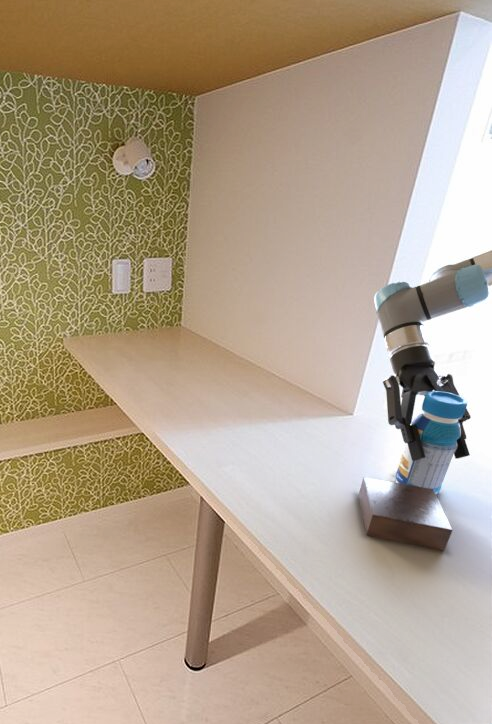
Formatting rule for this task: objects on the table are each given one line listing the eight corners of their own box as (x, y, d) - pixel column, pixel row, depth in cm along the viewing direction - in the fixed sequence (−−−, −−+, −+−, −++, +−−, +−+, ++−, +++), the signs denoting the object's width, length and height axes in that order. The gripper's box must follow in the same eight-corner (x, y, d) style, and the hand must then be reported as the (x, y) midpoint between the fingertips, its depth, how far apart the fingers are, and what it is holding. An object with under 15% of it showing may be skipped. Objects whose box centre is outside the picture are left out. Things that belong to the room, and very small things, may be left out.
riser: (426, 508, 83) (433, 489, 81) (444, 551, 73) (452, 530, 71) (358, 495, 87) (363, 477, 85) (366, 535, 76) (372, 514, 74)
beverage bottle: (422, 501, 85) (455, 409, 77) (384, 479, 92) (411, 392, 83) (449, 491, 88) (484, 402, 80) (410, 470, 95) (438, 386, 87)
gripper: (442, 359, 96) (475, 459, 88) (351, 361, 93) (377, 464, 86) (470, 343, 89) (507, 450, 81) (372, 344, 86) (401, 455, 79)
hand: (440, 457), depth 84 cm, fingers closed on beverage bottle, 8 cm apart
